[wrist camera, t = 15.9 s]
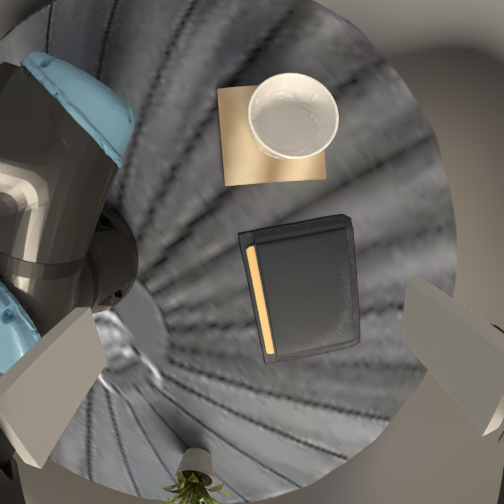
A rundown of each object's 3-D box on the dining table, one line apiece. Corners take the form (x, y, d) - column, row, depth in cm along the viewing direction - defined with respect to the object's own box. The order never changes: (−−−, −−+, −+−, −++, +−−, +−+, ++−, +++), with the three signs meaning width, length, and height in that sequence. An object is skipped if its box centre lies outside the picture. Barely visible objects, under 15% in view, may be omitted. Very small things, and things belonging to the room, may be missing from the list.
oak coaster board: (226, 185, 36) (225, 186, 35) (218, 92, 33) (217, 88, 32) (323, 178, 36) (326, 178, 35) (314, 87, 33) (316, 83, 32)
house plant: (256, 456, 48) (260, 525, 32) (213, 481, 50) (209, 542, 34) (194, 424, 45) (181, 499, 29) (156, 453, 47) (139, 517, 31)
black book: (362, 349, 41) (260, 369, 41) (358, 343, 43) (260, 362, 43) (358, 213, 36) (236, 231, 36) (352, 211, 38) (237, 228, 38)
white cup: (237, 112, 33) (234, 88, 23) (299, 92, 32) (318, 63, 22) (261, 173, 34) (267, 171, 25) (323, 152, 34) (351, 143, 24)
